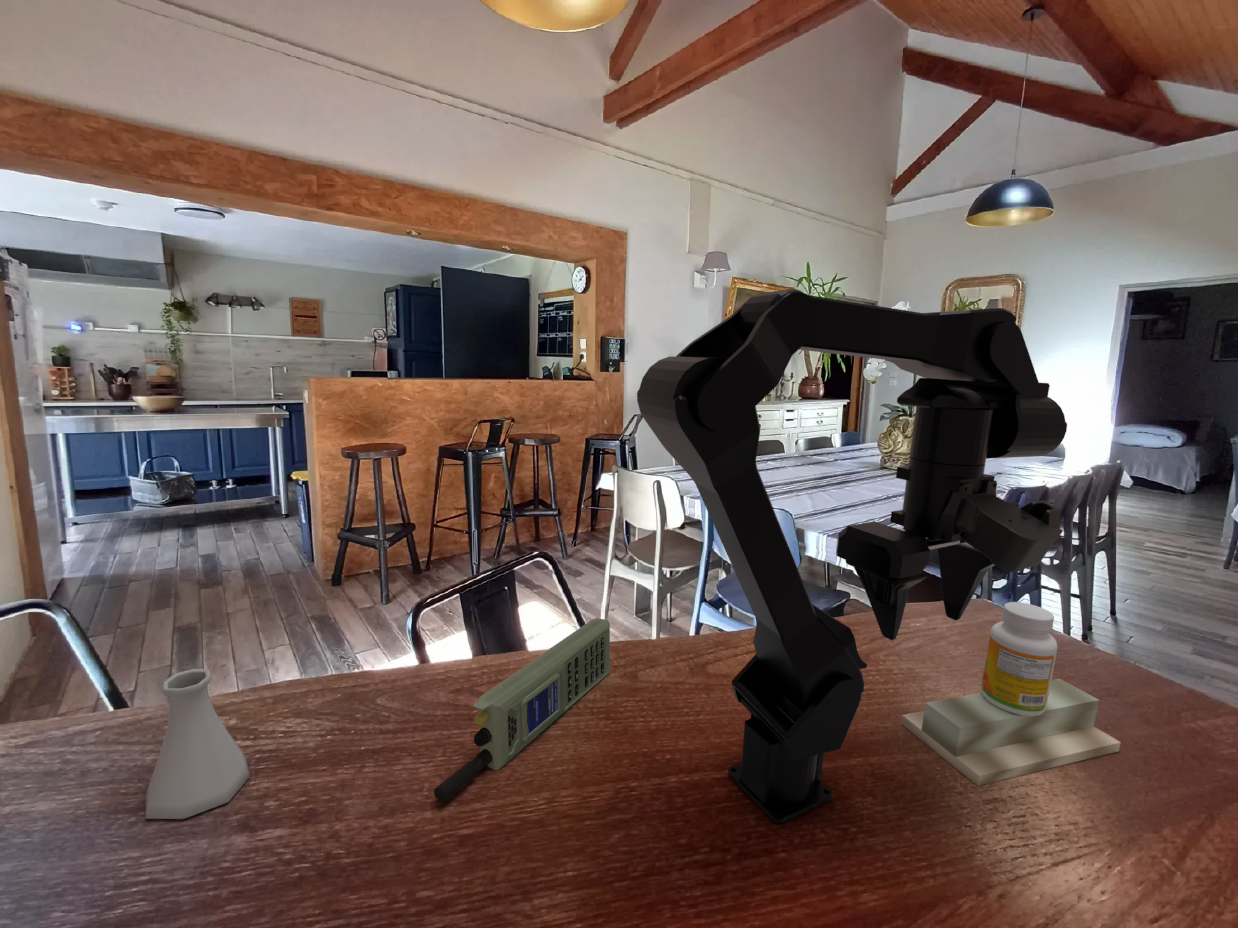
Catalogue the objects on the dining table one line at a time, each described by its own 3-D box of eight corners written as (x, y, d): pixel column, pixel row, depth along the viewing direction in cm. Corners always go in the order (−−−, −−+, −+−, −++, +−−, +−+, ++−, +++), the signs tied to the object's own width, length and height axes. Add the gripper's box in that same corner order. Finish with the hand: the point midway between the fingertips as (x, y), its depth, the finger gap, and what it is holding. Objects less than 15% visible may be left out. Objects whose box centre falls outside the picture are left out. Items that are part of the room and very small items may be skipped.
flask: (163, 768, 50) (150, 662, 48) (260, 751, 52) (250, 649, 50) (126, 833, 43) (108, 713, 41) (238, 810, 45) (227, 696, 44)
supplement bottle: (990, 679, 61) (1005, 594, 59) (1052, 704, 57) (1070, 612, 55) (972, 697, 57) (987, 607, 56) (1035, 725, 53) (1054, 628, 52)
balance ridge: (977, 785, 51) (984, 745, 50) (901, 723, 59) (906, 688, 59) (1118, 751, 56) (1126, 714, 56) (1030, 698, 65) (1036, 666, 64)
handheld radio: (614, 675, 67) (454, 818, 46) (590, 667, 69) (425, 803, 47) (614, 621, 66) (450, 743, 45) (590, 615, 67) (421, 729, 46)
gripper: (977, 489, 38) (943, 701, 41) (1111, 471, 47) (1076, 646, 50) (841, 459, 48) (822, 633, 51) (974, 449, 56) (951, 597, 59)
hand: (922, 627), depth 52 cm, fingers open, 9 cm apart
